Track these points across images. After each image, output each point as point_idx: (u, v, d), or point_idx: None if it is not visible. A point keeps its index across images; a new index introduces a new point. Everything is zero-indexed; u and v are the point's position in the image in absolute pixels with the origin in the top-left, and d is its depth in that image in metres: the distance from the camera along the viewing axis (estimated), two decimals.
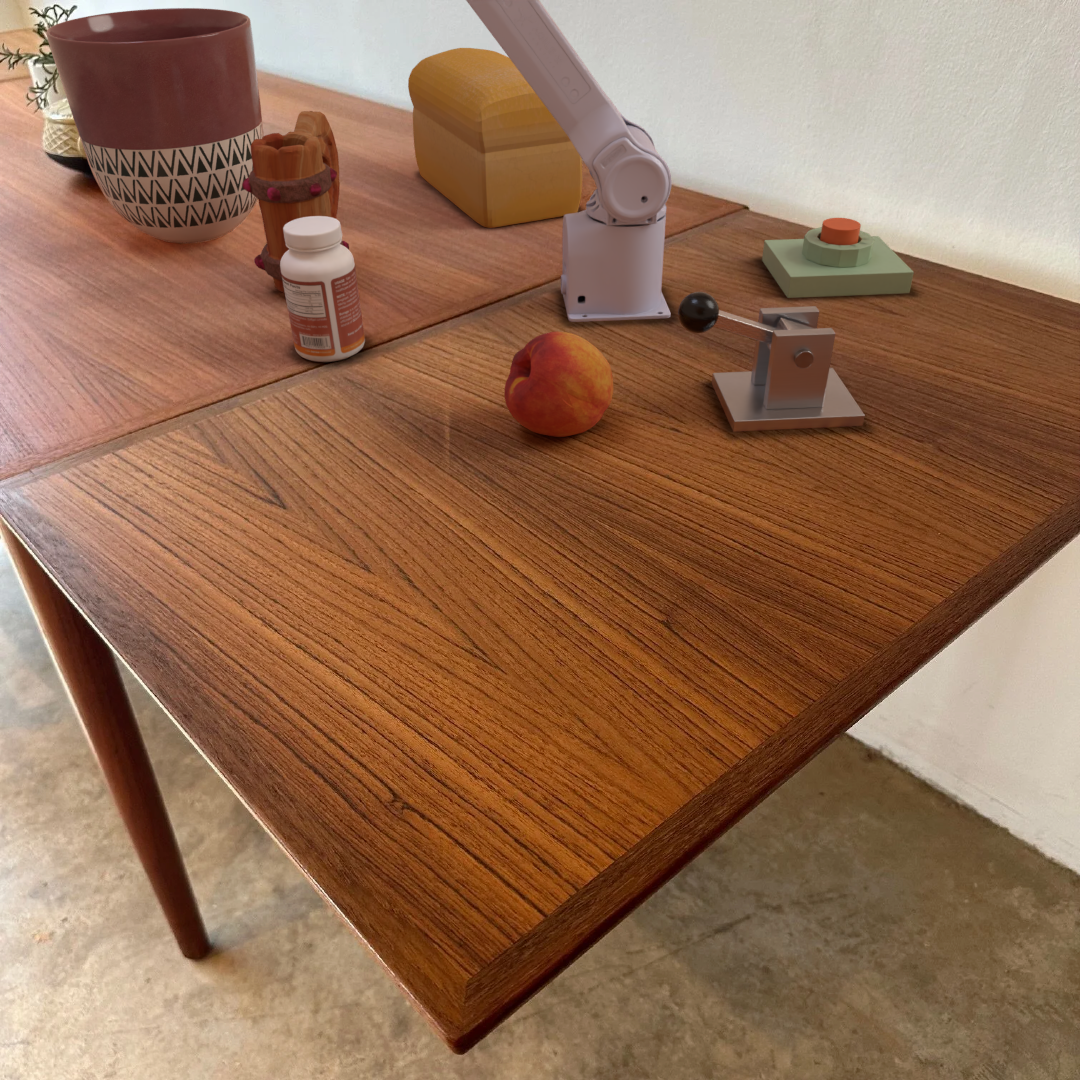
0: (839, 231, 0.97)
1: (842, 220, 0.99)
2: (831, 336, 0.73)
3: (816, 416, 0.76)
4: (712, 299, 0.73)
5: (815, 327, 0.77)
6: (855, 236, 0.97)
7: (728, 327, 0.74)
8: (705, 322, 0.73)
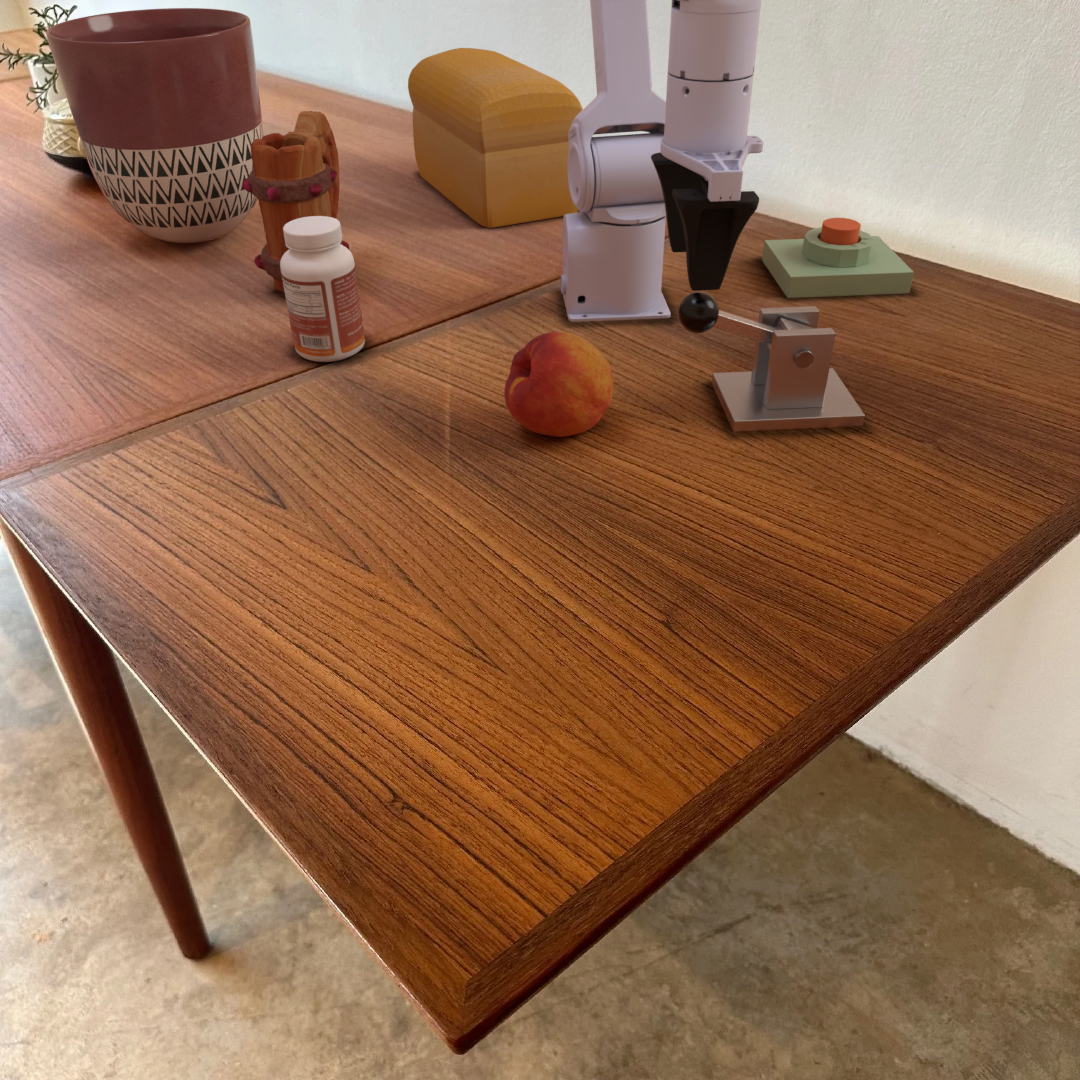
0: (839, 231, 0.97)
1: (842, 220, 0.99)
2: (831, 336, 0.73)
3: (816, 416, 0.76)
4: (712, 299, 0.73)
5: (815, 327, 0.77)
6: (855, 236, 0.97)
7: (728, 327, 0.74)
8: (705, 322, 0.73)
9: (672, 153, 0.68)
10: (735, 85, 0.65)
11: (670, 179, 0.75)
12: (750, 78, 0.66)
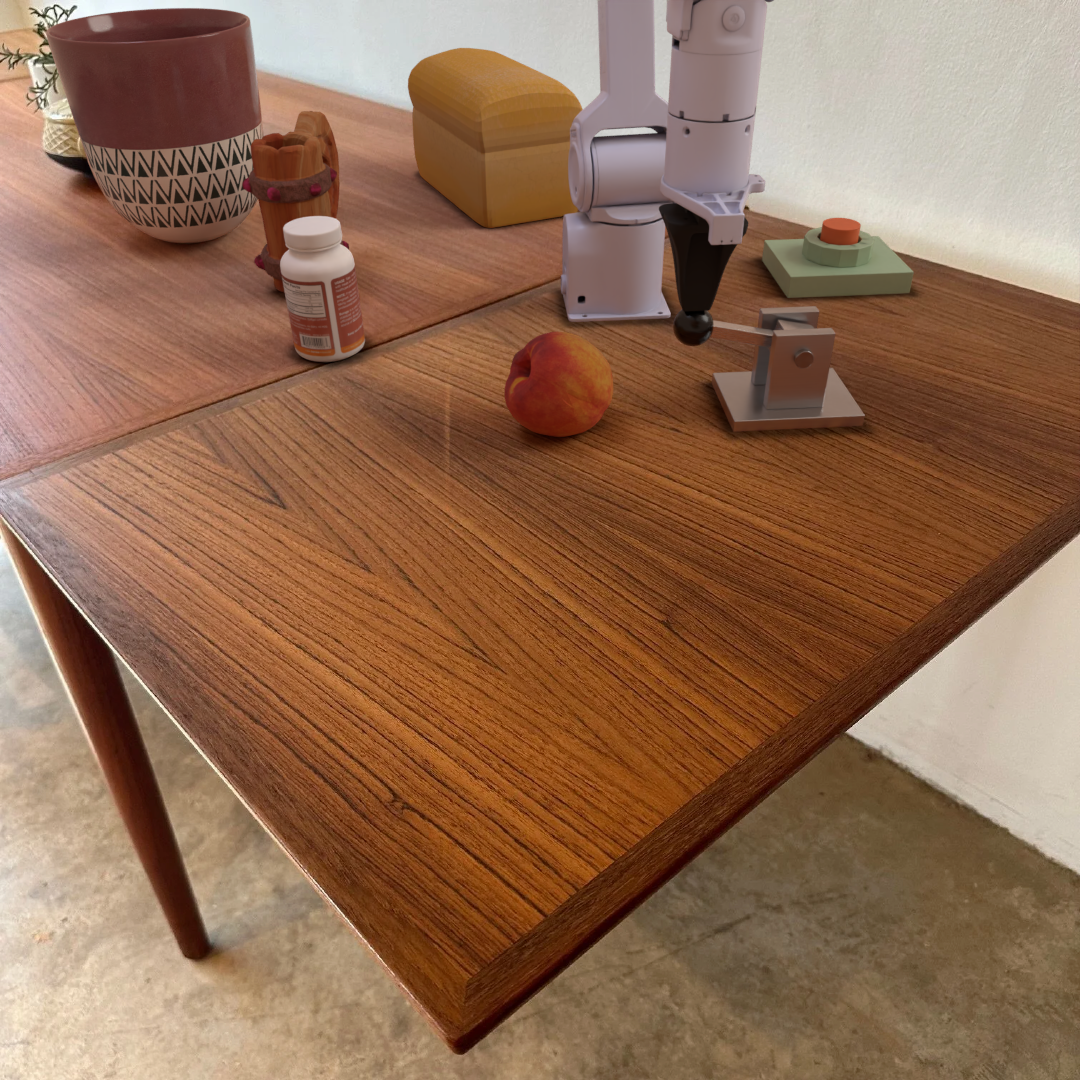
0: (839, 231, 0.97)
1: (842, 220, 0.99)
2: (831, 336, 0.73)
3: (816, 416, 0.76)
4: (705, 311, 0.74)
5: (815, 327, 0.77)
6: (855, 236, 0.97)
7: (724, 336, 0.75)
8: (700, 335, 0.74)
9: (672, 193, 0.67)
10: (737, 126, 0.64)
11: None
12: (752, 118, 0.65)
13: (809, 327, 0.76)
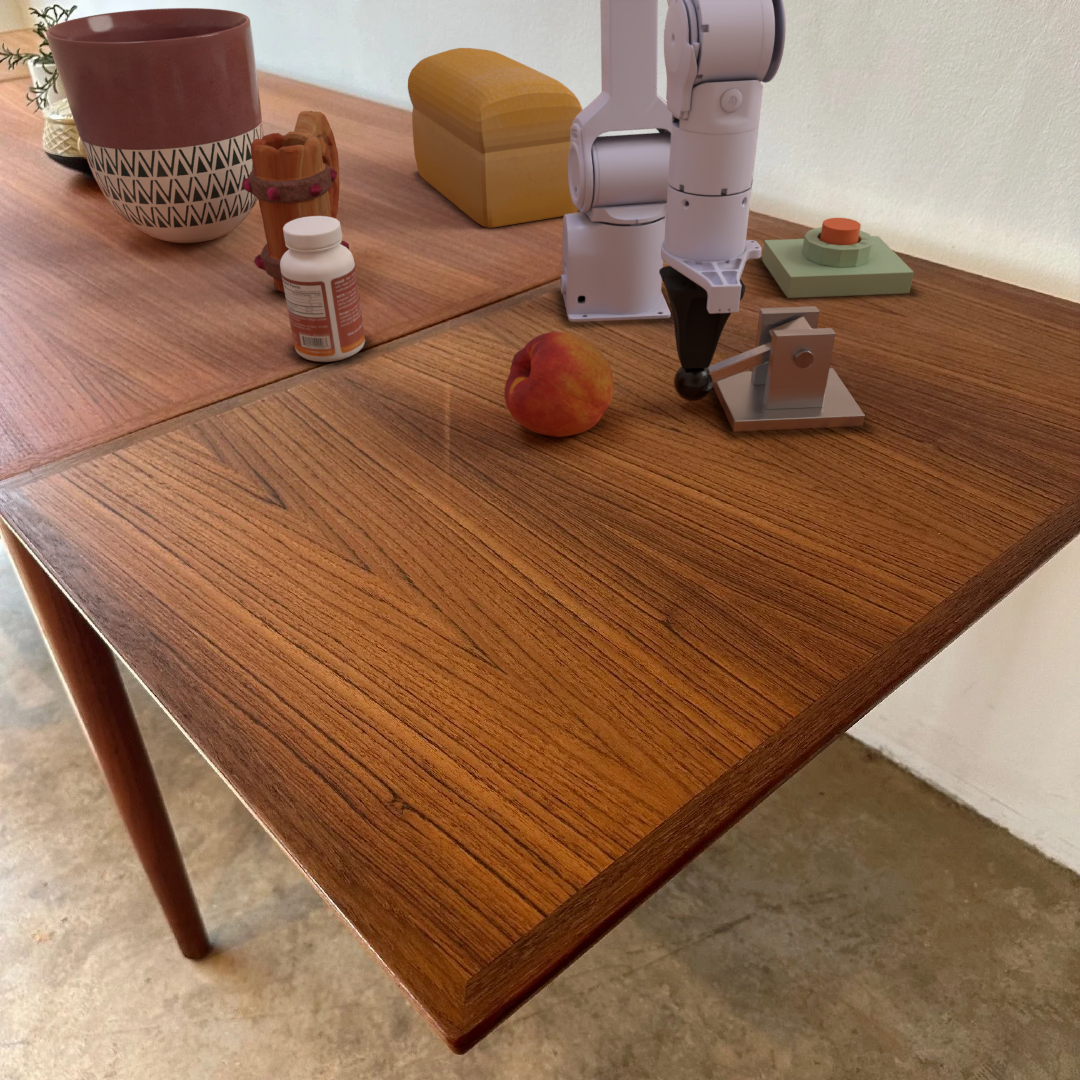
0: (839, 231, 0.97)
1: (842, 220, 0.99)
2: (831, 336, 0.73)
3: (816, 416, 0.76)
4: None
5: (815, 327, 0.77)
6: (855, 236, 0.97)
7: (725, 375, 0.77)
8: (700, 390, 0.76)
9: (672, 260, 0.70)
10: (734, 199, 0.67)
11: None
12: (749, 191, 0.68)
13: (800, 321, 0.76)
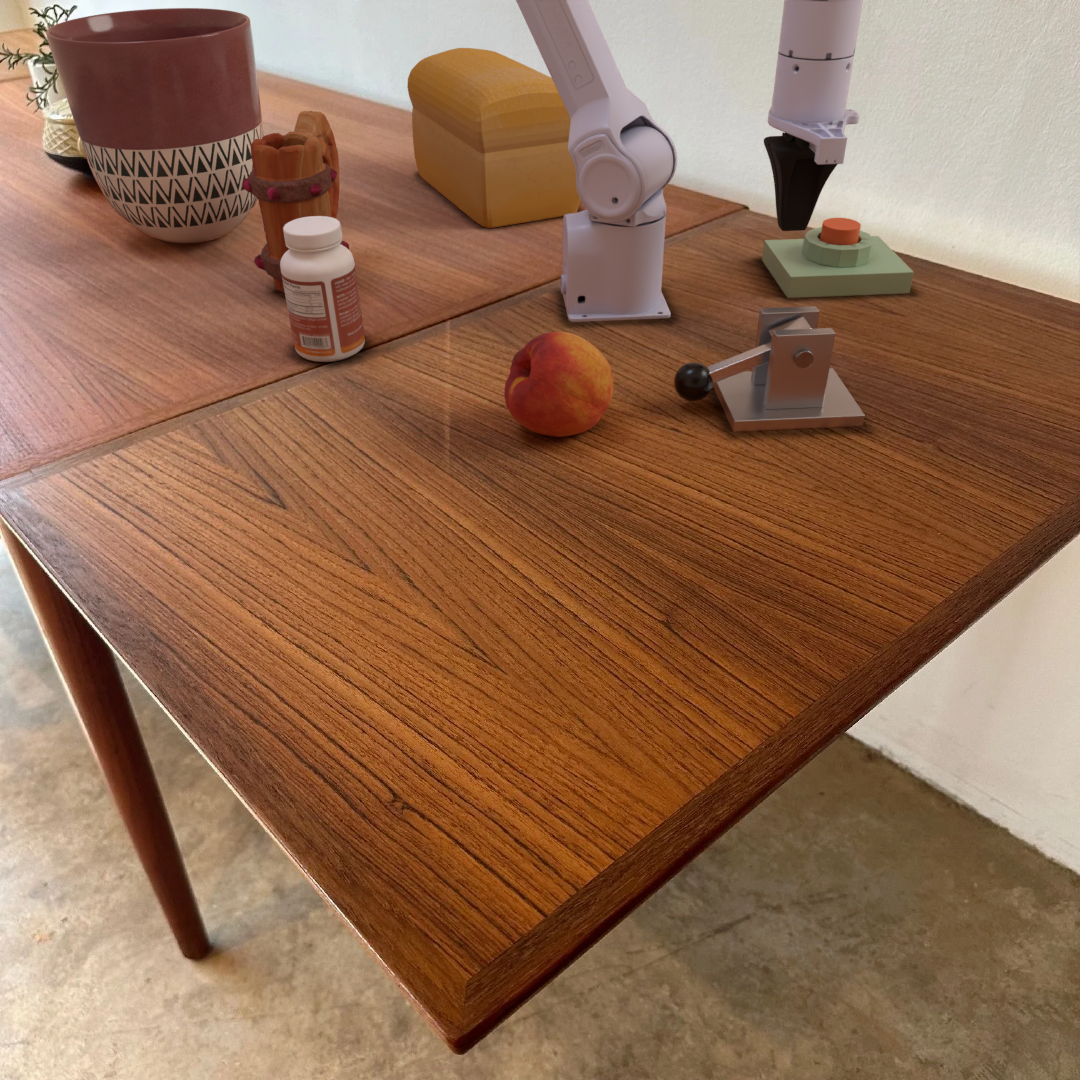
0: (839, 231, 0.97)
1: (842, 220, 0.99)
2: (831, 336, 0.73)
3: (816, 416, 0.76)
4: (694, 367, 0.76)
5: (815, 327, 0.77)
6: (855, 236, 0.97)
7: (725, 375, 0.77)
8: (701, 390, 0.76)
9: (780, 123, 0.78)
10: (839, 63, 0.75)
11: None
12: (852, 57, 0.76)
13: (800, 321, 0.76)
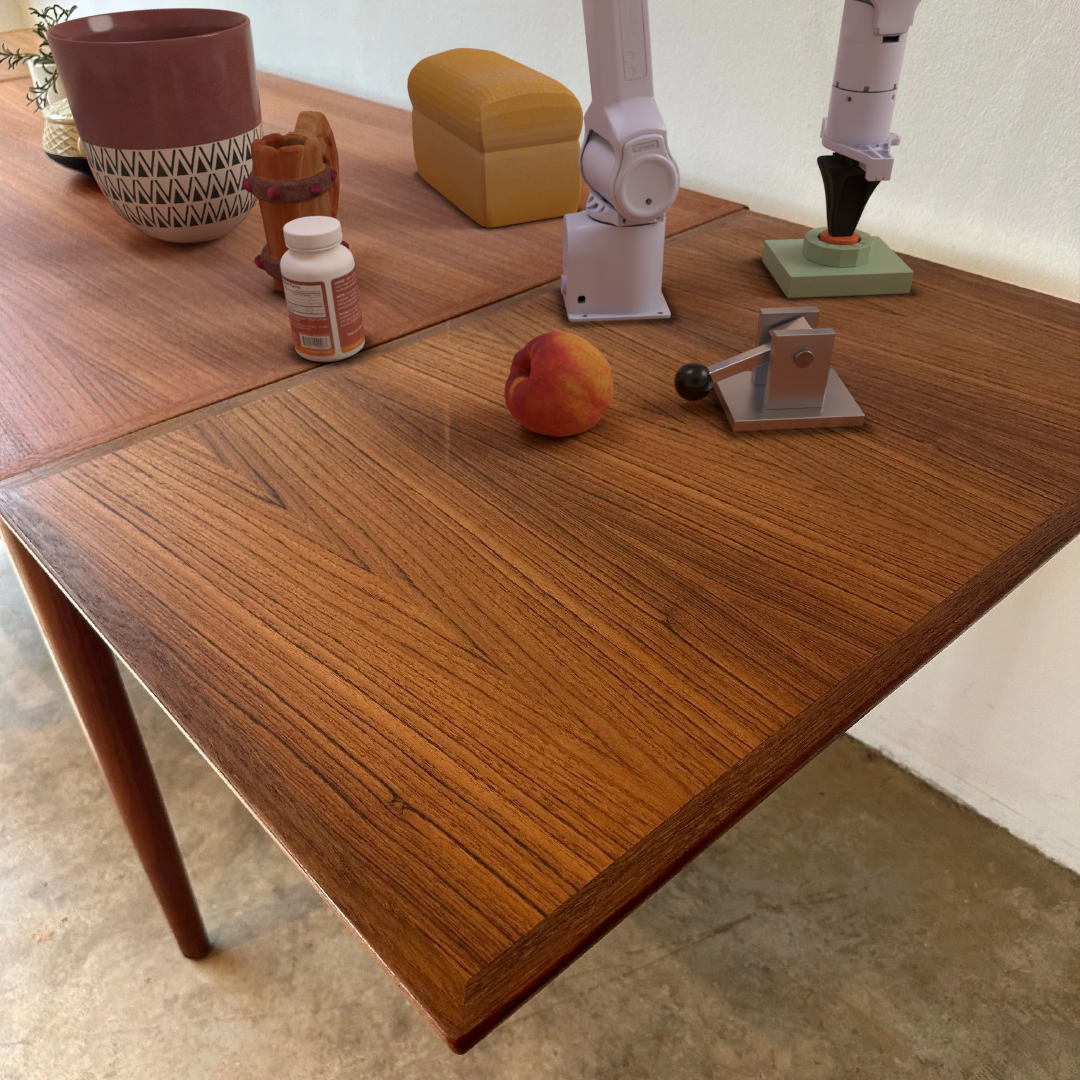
0: (838, 242, 0.97)
1: None
2: (831, 336, 0.73)
3: (816, 416, 0.76)
4: (694, 367, 0.76)
5: (815, 327, 0.77)
6: None
7: (725, 375, 0.77)
8: (701, 390, 0.76)
9: (834, 145, 0.92)
10: (886, 95, 0.88)
11: None
12: (896, 89, 0.89)
13: (800, 321, 0.76)
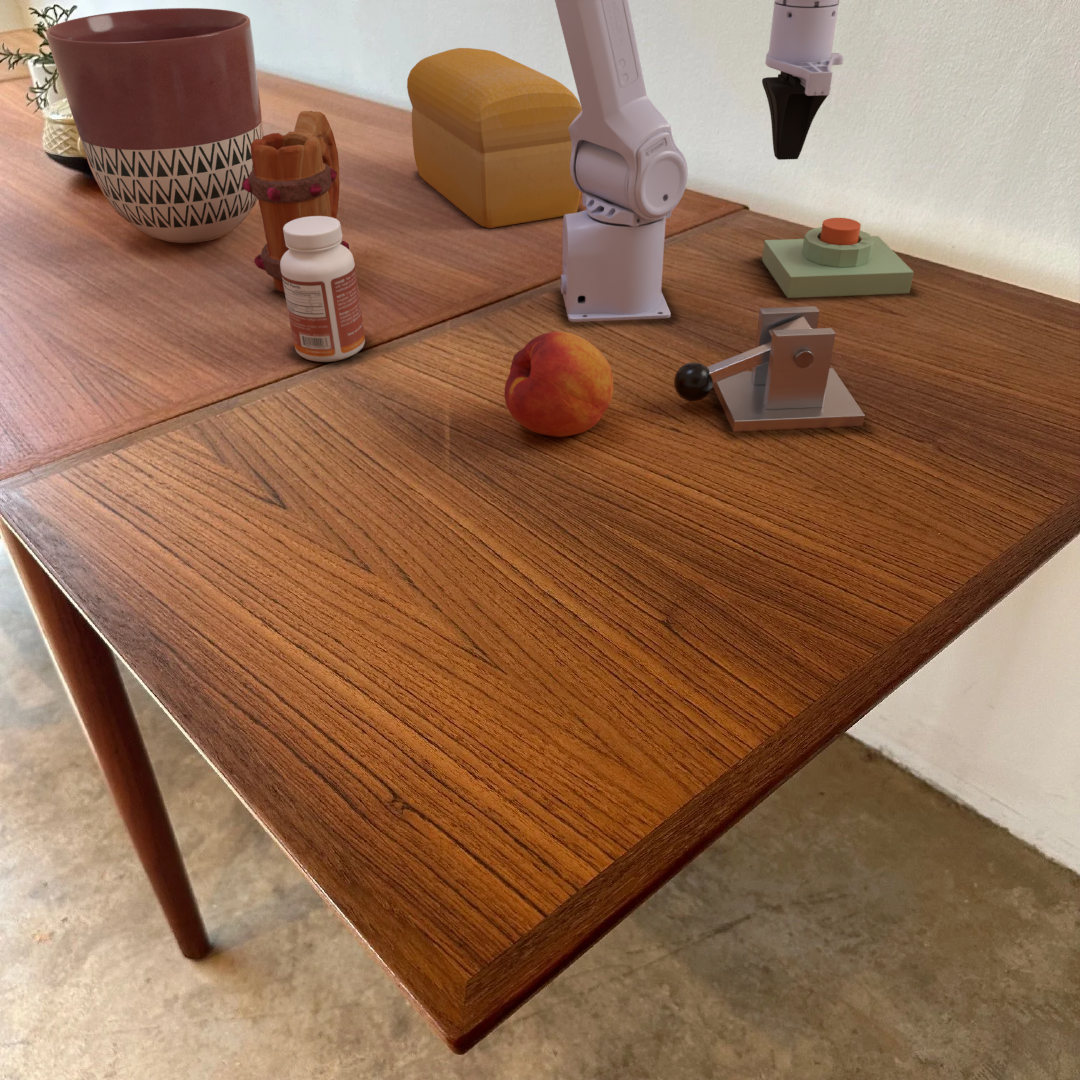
0: (839, 231, 0.97)
1: (842, 220, 0.99)
2: (831, 336, 0.73)
3: (816, 416, 0.76)
4: (694, 367, 0.76)
5: (815, 327, 0.77)
6: (855, 236, 0.97)
7: (725, 375, 0.77)
8: (701, 390, 0.76)
9: (776, 63, 0.92)
10: (826, 10, 0.89)
11: None
12: (836, 6, 0.90)
13: (800, 321, 0.76)
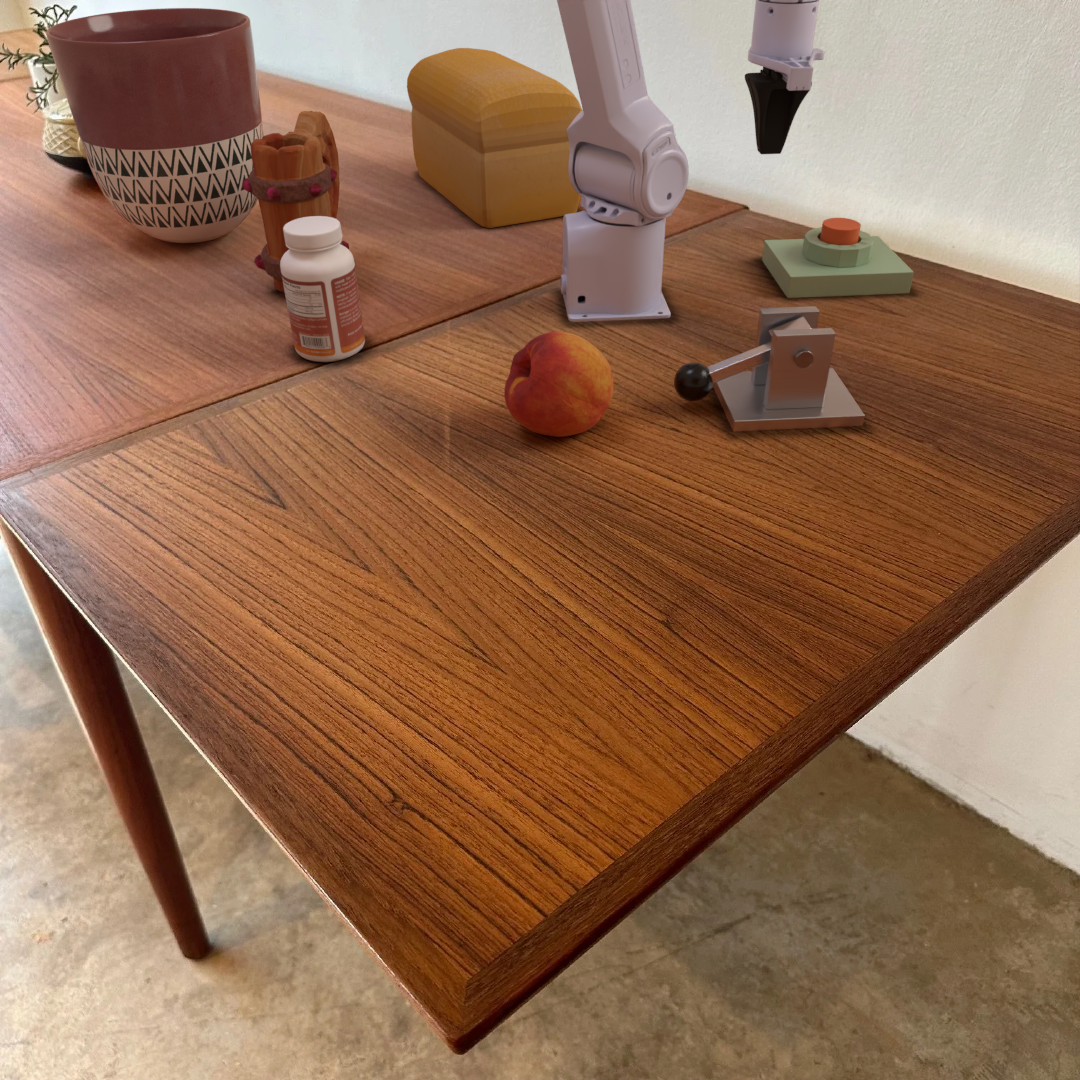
0: (839, 231, 0.97)
1: (842, 220, 0.99)
2: (831, 336, 0.73)
3: (816, 416, 0.76)
4: (694, 367, 0.76)
5: (815, 327, 0.77)
6: (855, 236, 0.97)
7: (725, 375, 0.77)
8: (701, 390, 0.76)
9: (758, 59, 0.93)
10: (807, 6, 0.90)
11: None
12: (817, 2, 0.91)
13: (800, 321, 0.76)
